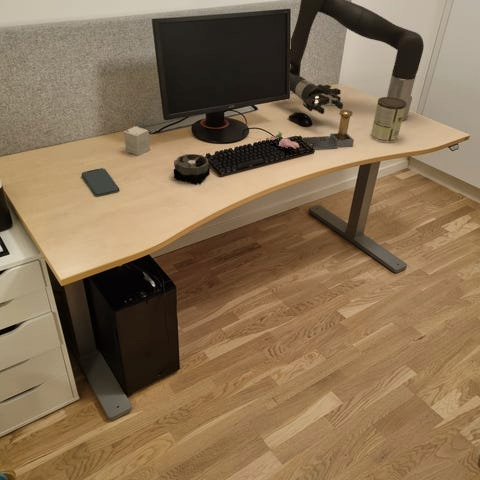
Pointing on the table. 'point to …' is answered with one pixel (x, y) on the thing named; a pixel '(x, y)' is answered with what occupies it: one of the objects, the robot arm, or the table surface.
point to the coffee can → (388, 119)
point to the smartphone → (100, 182)
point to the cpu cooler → (191, 168)
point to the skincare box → (137, 140)
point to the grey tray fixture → (328, 142)
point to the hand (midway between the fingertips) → (332, 109)
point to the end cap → (329, 90)
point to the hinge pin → (344, 124)
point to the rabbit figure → (284, 141)
